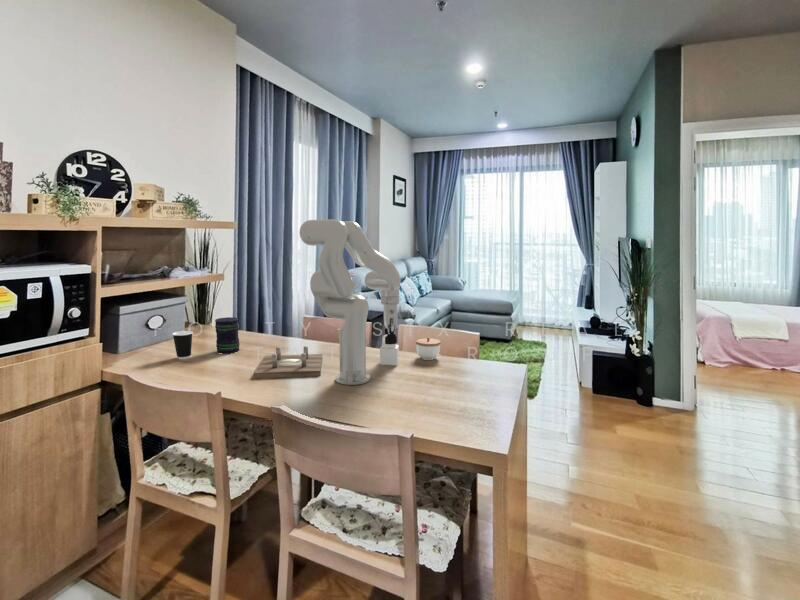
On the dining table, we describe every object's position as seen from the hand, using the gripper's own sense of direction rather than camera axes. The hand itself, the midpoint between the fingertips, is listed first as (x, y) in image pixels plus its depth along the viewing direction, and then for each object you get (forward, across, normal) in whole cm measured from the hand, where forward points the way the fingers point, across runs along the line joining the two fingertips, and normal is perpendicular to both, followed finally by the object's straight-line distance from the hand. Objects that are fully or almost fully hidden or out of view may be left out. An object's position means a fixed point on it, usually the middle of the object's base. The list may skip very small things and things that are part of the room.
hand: (390, 340), depth 176 cm
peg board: (+9, -2, +40) cm, 41 cm away
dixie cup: (+9, +18, +87) cm, 90 cm away
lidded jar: (+10, +5, -17) cm, 21 cm away
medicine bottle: (+10, 0, 0) cm, 10 cm away
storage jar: (+9, +27, +71) cm, 77 cm away
